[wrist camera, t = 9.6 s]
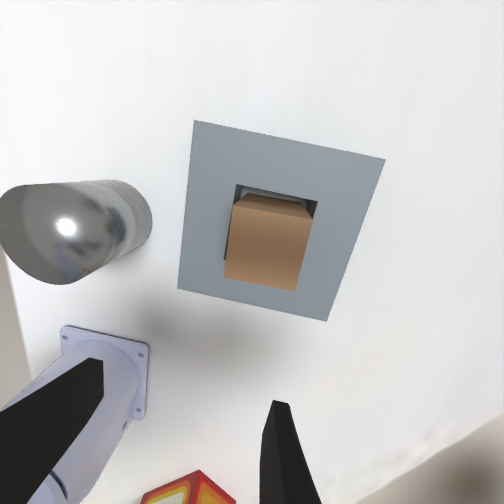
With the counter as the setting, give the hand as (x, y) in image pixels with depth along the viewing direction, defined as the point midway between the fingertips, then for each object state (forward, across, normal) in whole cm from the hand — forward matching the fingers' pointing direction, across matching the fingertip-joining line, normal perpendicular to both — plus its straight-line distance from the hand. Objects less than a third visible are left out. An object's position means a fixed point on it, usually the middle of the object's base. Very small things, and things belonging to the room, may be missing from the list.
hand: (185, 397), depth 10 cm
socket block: (+9, -2, -6) cm, 11 cm away
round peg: (+10, +9, -4) cm, 14 cm away
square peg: (+10, -2, -6) cm, 11 cm away
